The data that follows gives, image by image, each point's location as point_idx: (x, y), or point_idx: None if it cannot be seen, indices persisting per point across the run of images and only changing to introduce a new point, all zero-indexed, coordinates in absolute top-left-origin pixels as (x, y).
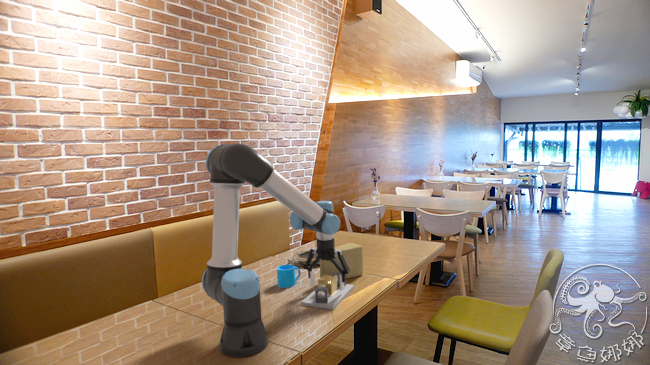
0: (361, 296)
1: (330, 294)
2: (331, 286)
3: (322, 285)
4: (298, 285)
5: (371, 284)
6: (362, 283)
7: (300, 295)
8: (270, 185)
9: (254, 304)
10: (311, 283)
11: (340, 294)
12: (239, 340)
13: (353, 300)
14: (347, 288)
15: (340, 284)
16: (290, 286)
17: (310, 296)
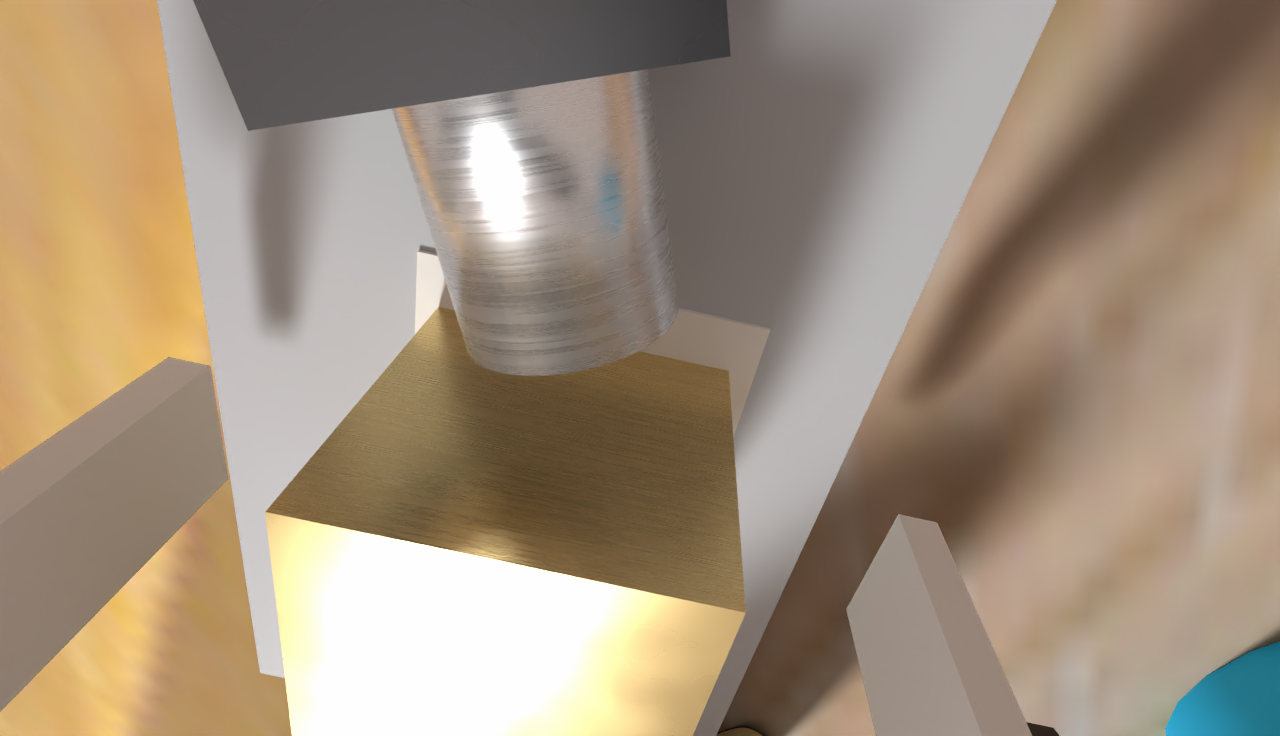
0: (28, 392)
1: None
2: (352, 409)
3: (527, 300)
4: (1118, 691)
5: (136, 712)
6: (249, 733)
7: (1103, 352)
8: None
9: None
10: (933, 572)
11: (294, 357)
12: None
13: (48, 225)
14: None
15: (81, 449)
16: (1276, 654)
17: (891, 203)
